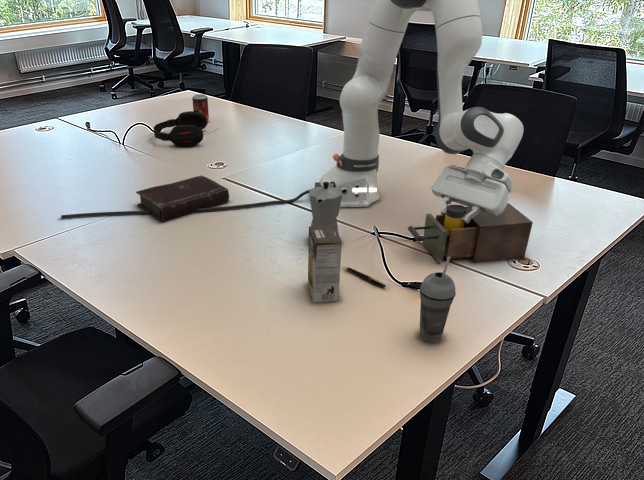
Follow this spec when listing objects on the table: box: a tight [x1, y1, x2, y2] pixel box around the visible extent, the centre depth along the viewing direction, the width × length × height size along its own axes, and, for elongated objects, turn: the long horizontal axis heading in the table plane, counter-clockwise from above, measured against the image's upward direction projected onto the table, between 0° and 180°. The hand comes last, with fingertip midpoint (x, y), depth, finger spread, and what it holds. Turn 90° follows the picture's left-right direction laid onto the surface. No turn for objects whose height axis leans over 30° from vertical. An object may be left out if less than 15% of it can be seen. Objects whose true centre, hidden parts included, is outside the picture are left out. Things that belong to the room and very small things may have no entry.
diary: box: [135, 175, 230, 222], centre depth 193 cm, size 19×25×5 cm
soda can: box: [191, 93, 210, 121], centre depth 275 cm, size 7×7×12 cm
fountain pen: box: [344, 266, 387, 288], centre depth 150 cm, size 14×1×2 cm, turn 40°
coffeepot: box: [308, 181, 343, 241], centre depth 164 cm, size 15×9×18 cm, turn 159°
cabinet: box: [465, 202, 534, 264], centre depth 158 cm, size 14×13×11 cm
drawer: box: [407, 213, 479, 263], centre depth 157 cm, size 19×11×9 cm, turn 97°
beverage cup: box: [419, 256, 457, 344], centre depth 123 cm, size 7×7×20 cm
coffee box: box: [307, 225, 343, 303], centre depth 140 cm, size 9×6×16 cm
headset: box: [153, 110, 218, 148], centre depth 253 cm, size 28×26×9 cm
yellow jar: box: [444, 204, 467, 236], centre depth 155 cm, size 5×5×7 cm
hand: (453, 218), depth 154 cm, fingers closed on yellow jar, 5 cm apart
